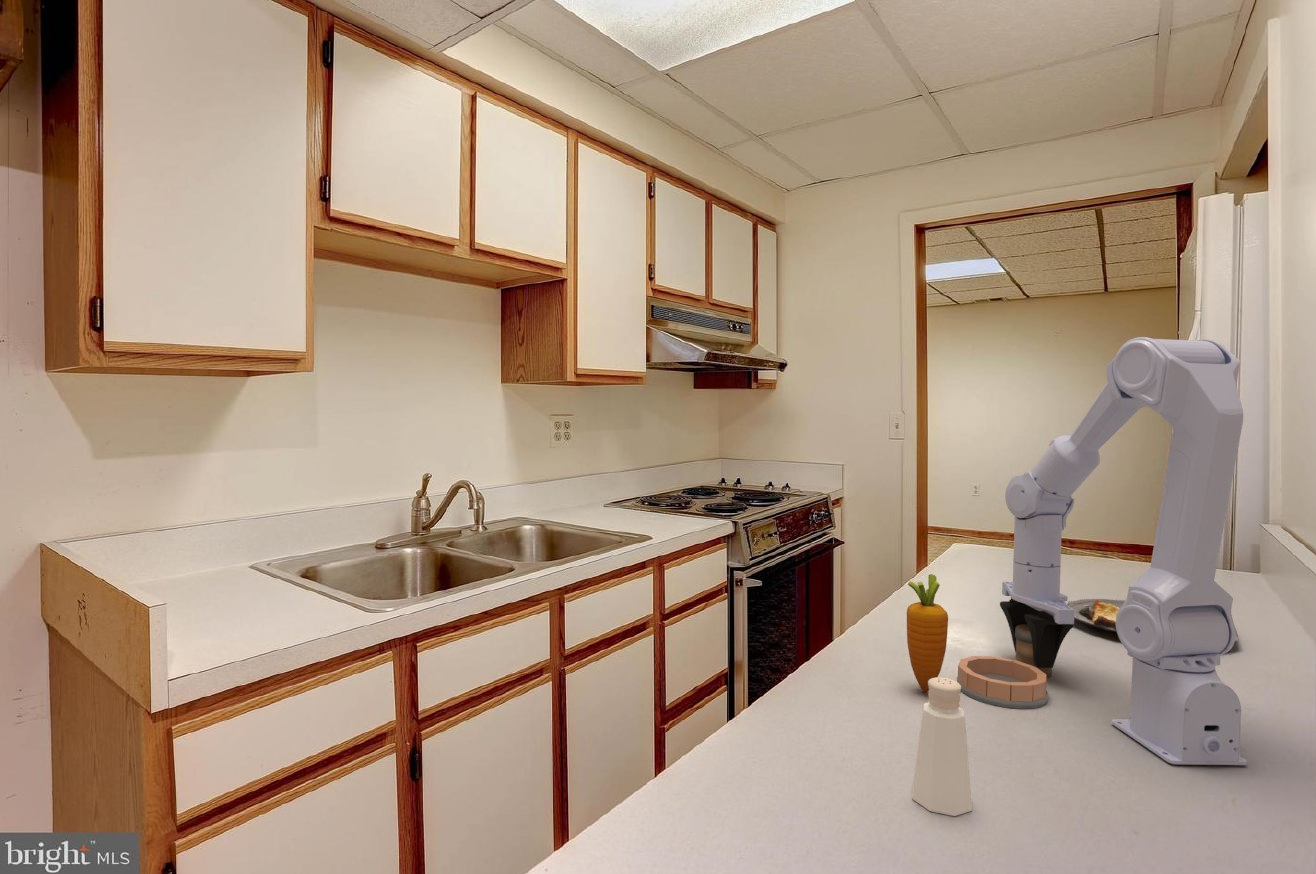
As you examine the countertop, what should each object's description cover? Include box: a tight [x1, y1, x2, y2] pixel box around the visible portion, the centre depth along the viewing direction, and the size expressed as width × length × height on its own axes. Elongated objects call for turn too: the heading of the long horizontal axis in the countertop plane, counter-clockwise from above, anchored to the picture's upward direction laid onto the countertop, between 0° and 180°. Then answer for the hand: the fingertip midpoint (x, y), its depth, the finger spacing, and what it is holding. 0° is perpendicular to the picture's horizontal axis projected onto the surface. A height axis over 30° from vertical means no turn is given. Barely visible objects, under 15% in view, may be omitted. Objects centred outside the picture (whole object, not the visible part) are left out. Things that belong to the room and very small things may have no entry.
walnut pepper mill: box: [1015, 624, 1053, 679], centre depth 95 cm, size 5×5×6 cm
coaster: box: [956, 655, 1049, 710], centre depth 88 cm, size 10×10×3 cm
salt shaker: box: [911, 676, 973, 817], centre depth 63 cm, size 5×5×11 cm
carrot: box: [906, 573, 949, 693], centre depth 87 cm, size 5×5×15 cm
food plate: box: [1066, 598, 1240, 644], centre depth 115 cm, size 25×23×4 cm
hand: (1033, 660), depth 95 cm, fingers closed on walnut pepper mill, 5 cm apart
